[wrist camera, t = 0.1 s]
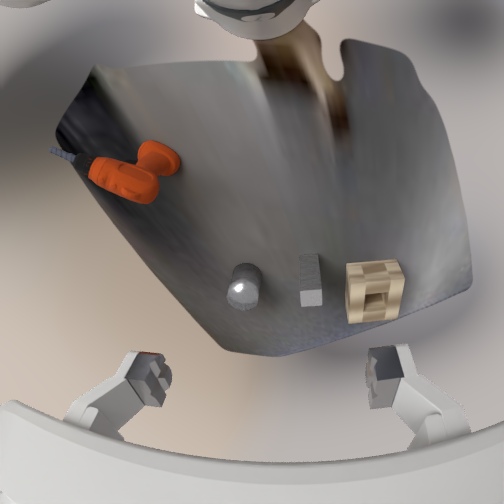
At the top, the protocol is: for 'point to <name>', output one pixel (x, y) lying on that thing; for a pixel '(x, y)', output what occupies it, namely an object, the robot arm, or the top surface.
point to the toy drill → (128, 170)
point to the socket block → (373, 290)
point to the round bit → (244, 286)
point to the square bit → (310, 280)
